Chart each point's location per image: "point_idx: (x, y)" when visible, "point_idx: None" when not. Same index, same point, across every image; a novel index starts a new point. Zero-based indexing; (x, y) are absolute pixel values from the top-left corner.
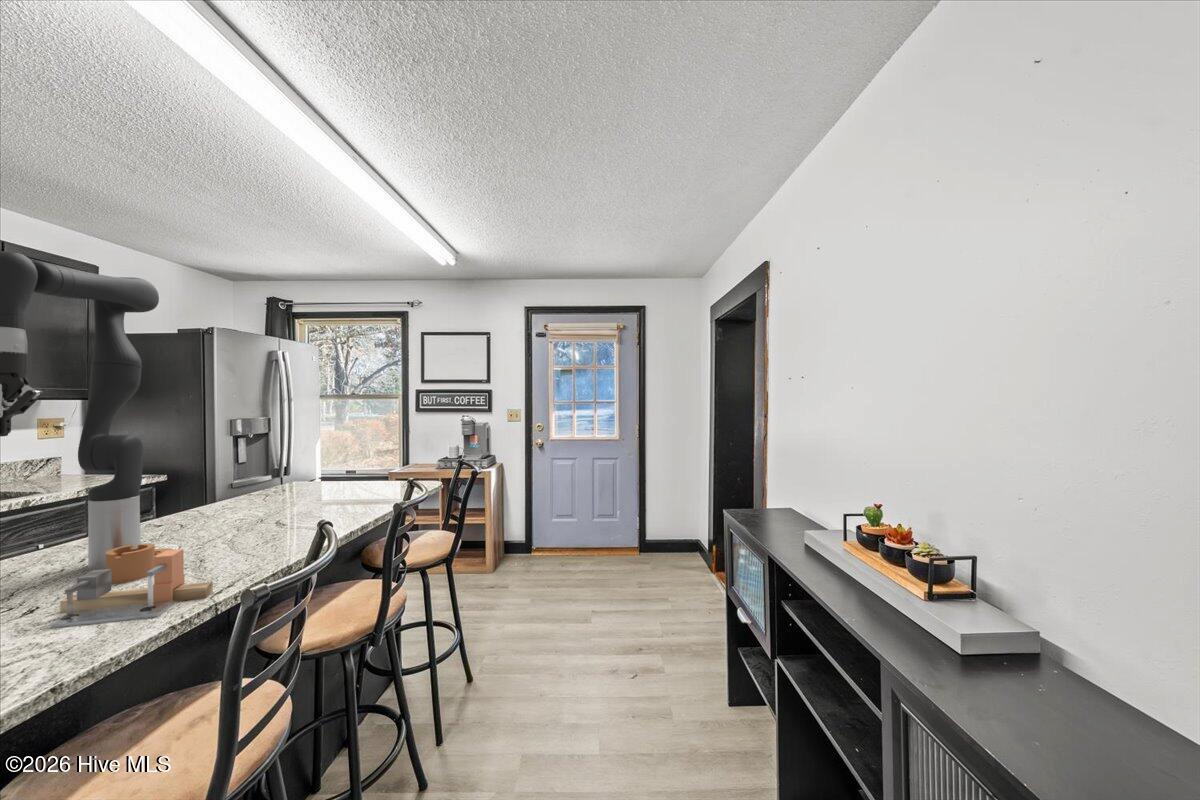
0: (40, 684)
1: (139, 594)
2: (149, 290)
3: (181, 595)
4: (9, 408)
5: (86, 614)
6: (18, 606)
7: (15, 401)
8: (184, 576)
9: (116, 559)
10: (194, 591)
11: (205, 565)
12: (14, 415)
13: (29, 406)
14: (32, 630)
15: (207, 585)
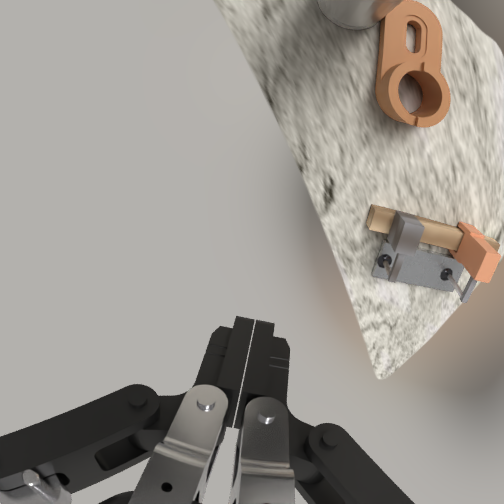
0: (387, 368)
1: (442, 246)
2: None
3: None
4: (299, 487)
5: None
6: (304, 162)
7: (291, 500)
8: (483, 235)
9: (407, 123)
10: None
11: (483, 99)
12: (302, 422)
13: (379, 475)
14: (355, 263)
15: None
